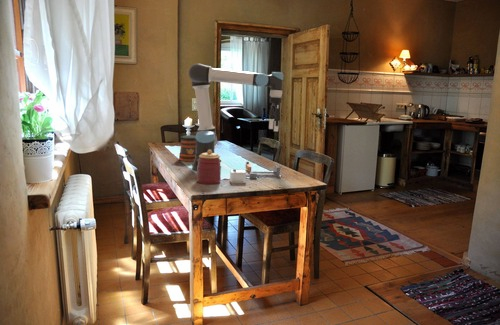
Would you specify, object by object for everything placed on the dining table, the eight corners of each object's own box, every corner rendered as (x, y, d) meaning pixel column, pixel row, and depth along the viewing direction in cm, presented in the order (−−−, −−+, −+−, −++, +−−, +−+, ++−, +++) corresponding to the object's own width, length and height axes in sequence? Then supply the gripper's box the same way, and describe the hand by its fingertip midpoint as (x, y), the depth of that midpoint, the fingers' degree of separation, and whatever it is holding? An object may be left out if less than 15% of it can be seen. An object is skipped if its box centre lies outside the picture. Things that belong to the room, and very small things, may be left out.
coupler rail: (244, 178, 221) (245, 169, 220) (241, 172, 236) (241, 163, 235) (281, 179, 224) (282, 169, 223) (276, 173, 239) (276, 164, 238)
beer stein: (203, 157, 279) (204, 130, 275) (208, 161, 265) (209, 132, 262) (177, 158, 273) (178, 130, 269) (180, 162, 259) (181, 132, 255)
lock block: (231, 182, 209) (231, 170, 208) (229, 180, 215) (230, 168, 214) (245, 183, 211) (246, 171, 210) (244, 180, 216) (244, 168, 215)
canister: (222, 184, 204) (223, 151, 201) (197, 184, 202) (198, 151, 198) (218, 178, 217) (220, 147, 214) (195, 178, 214) (196, 147, 211)
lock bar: (248, 171, 234) (248, 165, 234) (245, 167, 246) (245, 161, 245) (251, 171, 235) (251, 165, 234) (248, 167, 246) (248, 161, 246)
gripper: (286, 97, 235) (284, 132, 238) (276, 96, 259) (274, 128, 263) (274, 97, 233) (272, 132, 237) (265, 96, 257) (263, 127, 261)
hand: (273, 130), depth 250 cm, fingers open, 13 cm apart
